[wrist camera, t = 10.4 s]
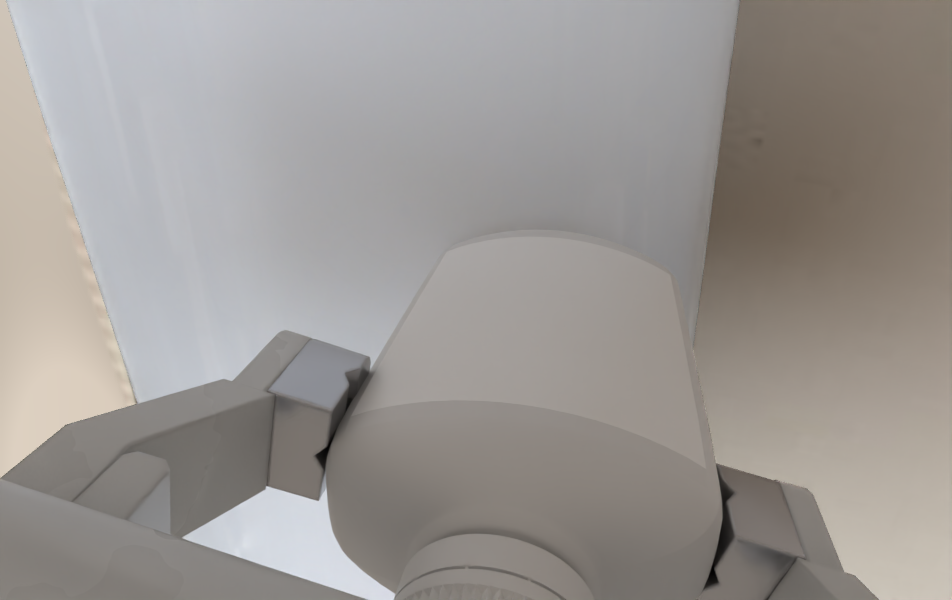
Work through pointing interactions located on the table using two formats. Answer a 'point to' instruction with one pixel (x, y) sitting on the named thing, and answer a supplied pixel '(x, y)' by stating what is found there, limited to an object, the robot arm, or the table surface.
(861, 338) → the table surface
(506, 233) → the eye dropper bottle
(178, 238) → the tray
